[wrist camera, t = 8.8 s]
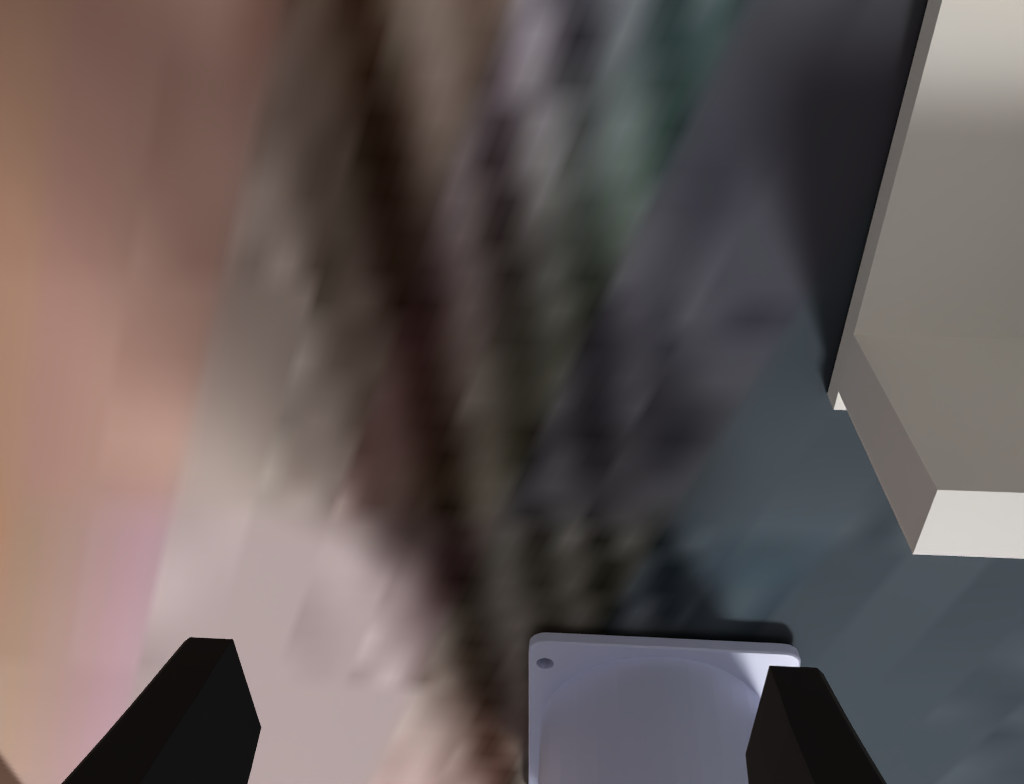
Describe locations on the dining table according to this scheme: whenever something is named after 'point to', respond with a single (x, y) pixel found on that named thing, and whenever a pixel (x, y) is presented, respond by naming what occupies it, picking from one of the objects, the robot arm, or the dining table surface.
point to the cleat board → (947, 292)
